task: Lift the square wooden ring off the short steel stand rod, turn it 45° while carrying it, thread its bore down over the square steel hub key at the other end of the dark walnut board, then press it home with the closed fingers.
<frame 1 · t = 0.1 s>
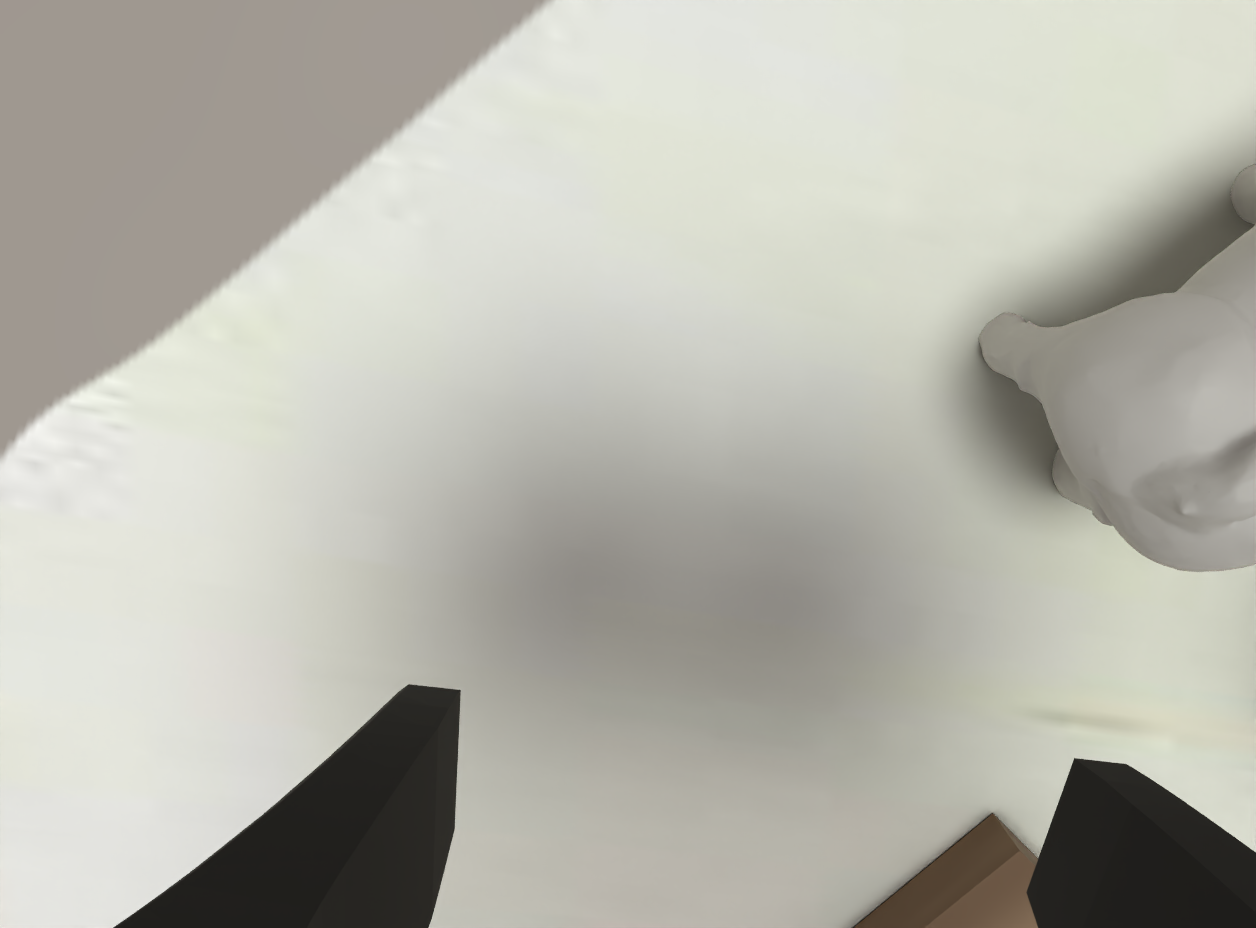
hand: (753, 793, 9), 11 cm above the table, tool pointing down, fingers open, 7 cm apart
dog figurine: (1200, 305, 19), on the table
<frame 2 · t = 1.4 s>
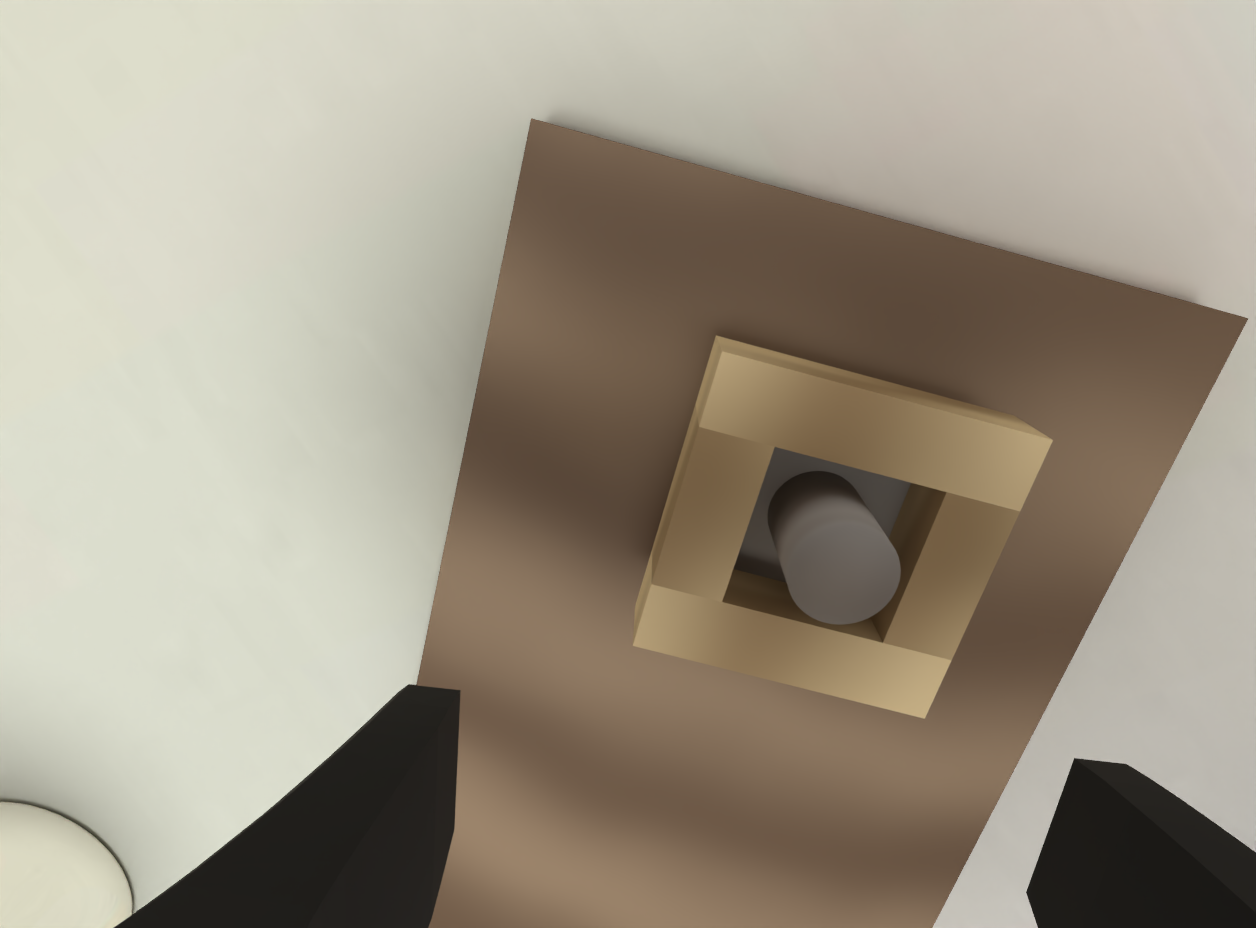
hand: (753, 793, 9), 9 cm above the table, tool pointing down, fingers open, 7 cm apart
beer glass: (35, 878, 23), on the table
square wooden ring: (815, 515, 15), point 3 cm above the table, touching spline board
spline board: (692, 746, 20), on the table
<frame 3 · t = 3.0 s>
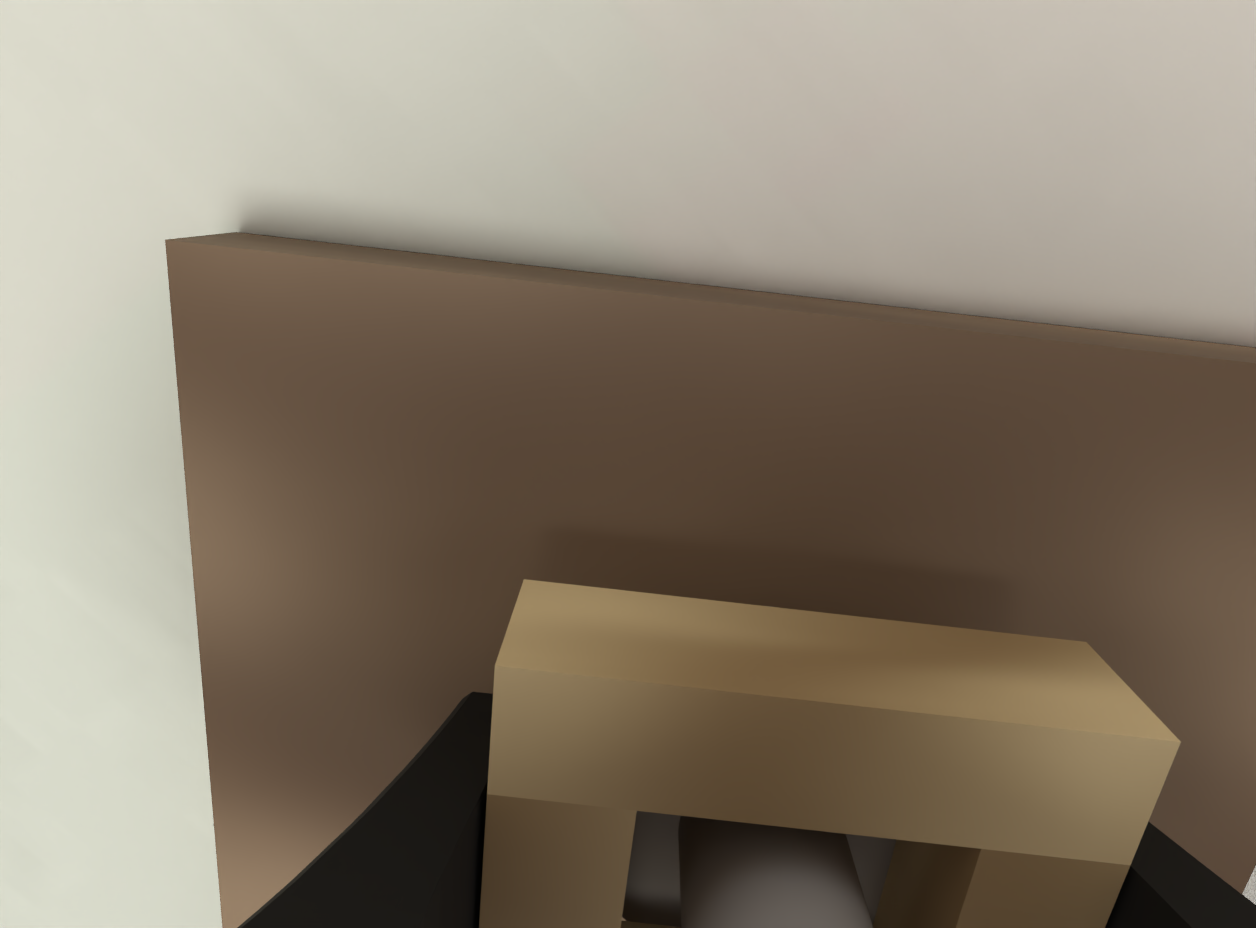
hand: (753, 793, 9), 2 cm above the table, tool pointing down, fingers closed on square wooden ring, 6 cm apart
square wooden ring: (759, 832, 9), point 3 cm above the table, touching gripper, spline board
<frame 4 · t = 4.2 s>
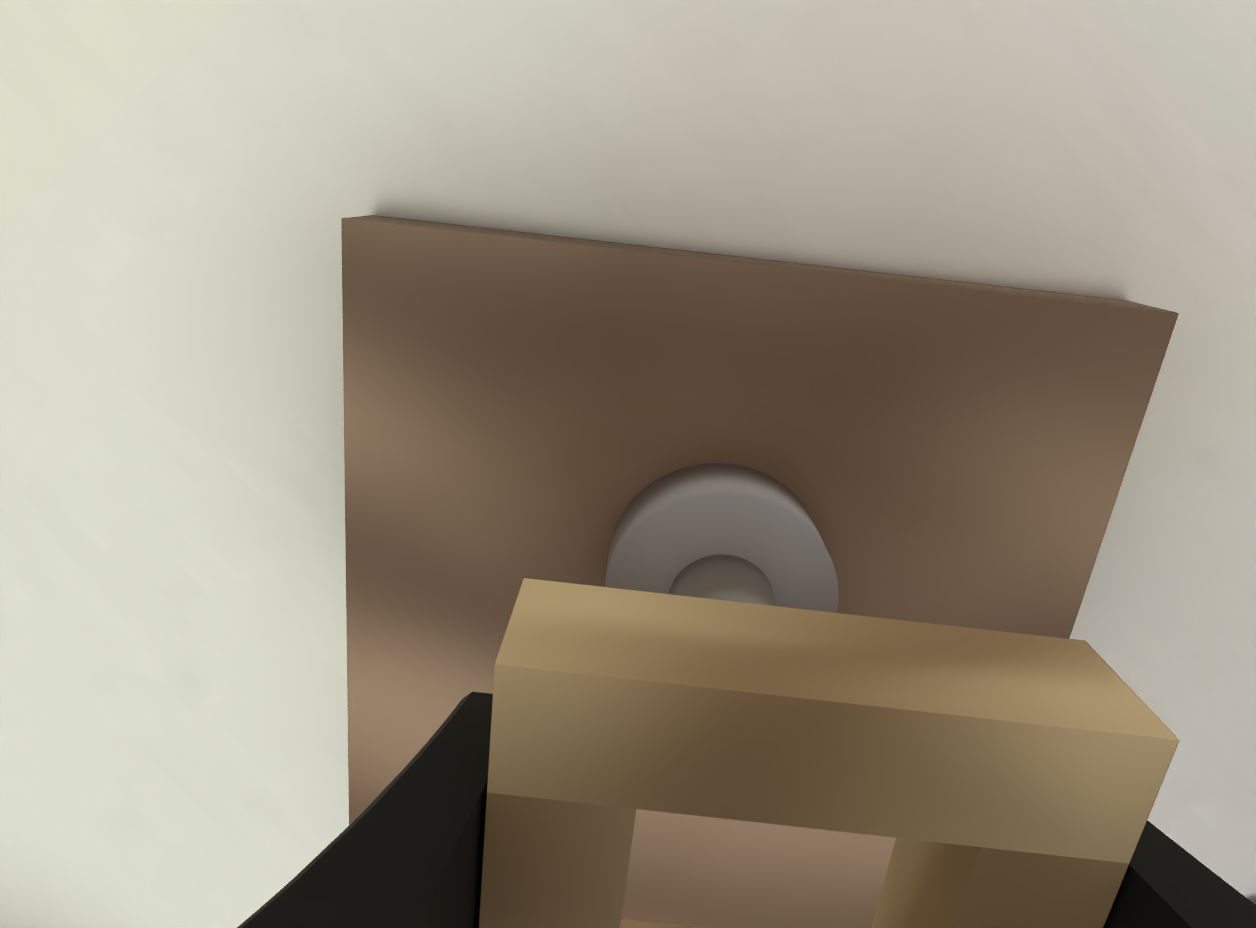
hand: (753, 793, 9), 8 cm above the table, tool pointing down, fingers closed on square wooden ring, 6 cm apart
square wooden ring: (759, 831, 9), point 8 cm above the table, touching gripper
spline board: (662, 833, 19), on the table
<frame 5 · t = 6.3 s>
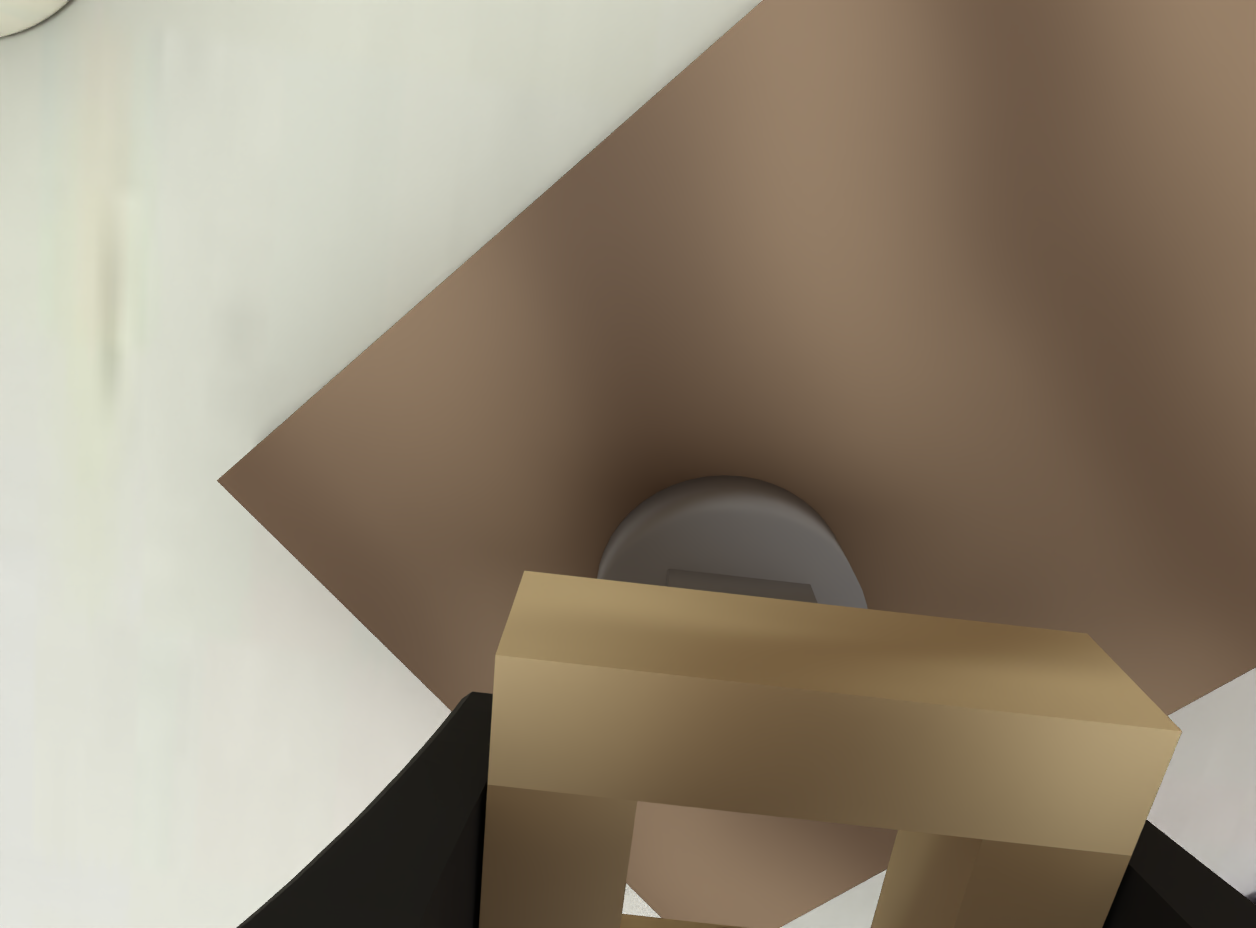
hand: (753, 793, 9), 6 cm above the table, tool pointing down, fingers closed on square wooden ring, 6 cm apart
square wooden ring: (760, 825, 9), point 7 cm above the table, touching gripper
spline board: (1092, 293, 14), on the table
when the fingers open (4 cm above the table, at t = 7.7 s): square wooden ring drops 1 cm, resting on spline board.
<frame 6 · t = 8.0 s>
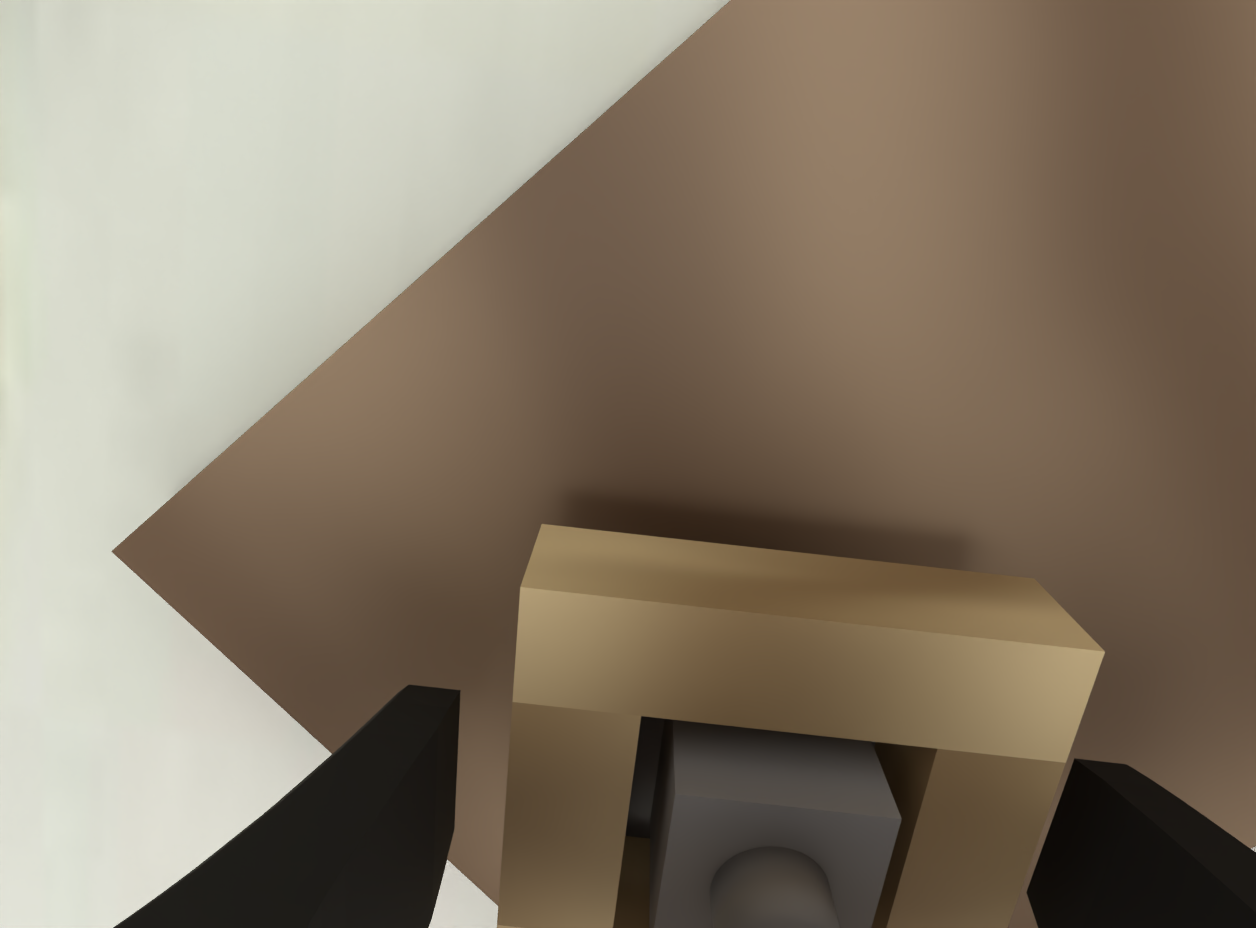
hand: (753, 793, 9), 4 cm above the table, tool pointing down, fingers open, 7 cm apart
square wooden ring: (749, 753, 10), point 3 cm above the table, touching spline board
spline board: (1197, 319, 11), on the table
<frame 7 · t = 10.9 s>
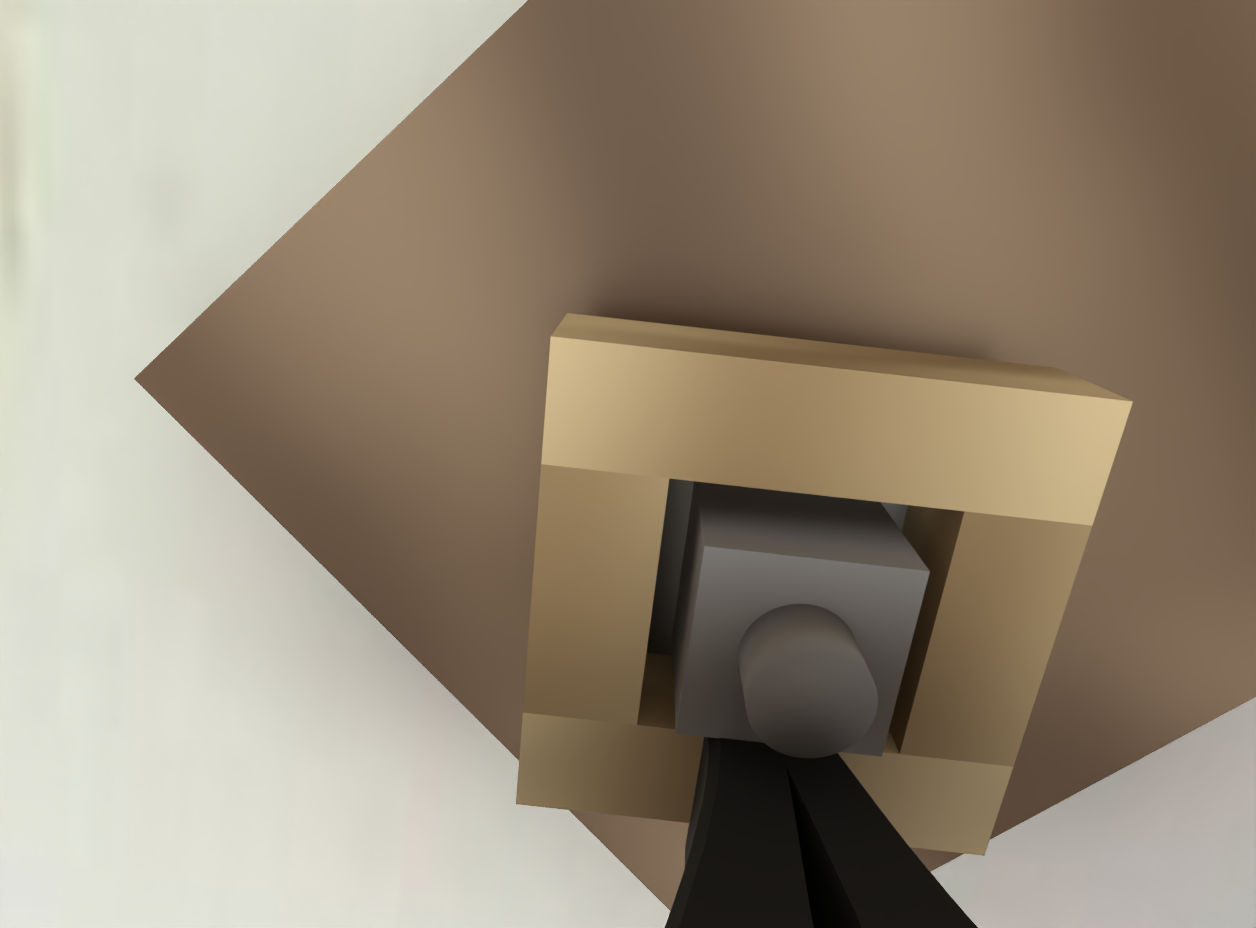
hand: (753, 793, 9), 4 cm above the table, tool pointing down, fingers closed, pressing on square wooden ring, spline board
square wooden ring: (772, 562, 10), point 3 cm above the table, touching gripper, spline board
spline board: (1216, 147, 11), on the table
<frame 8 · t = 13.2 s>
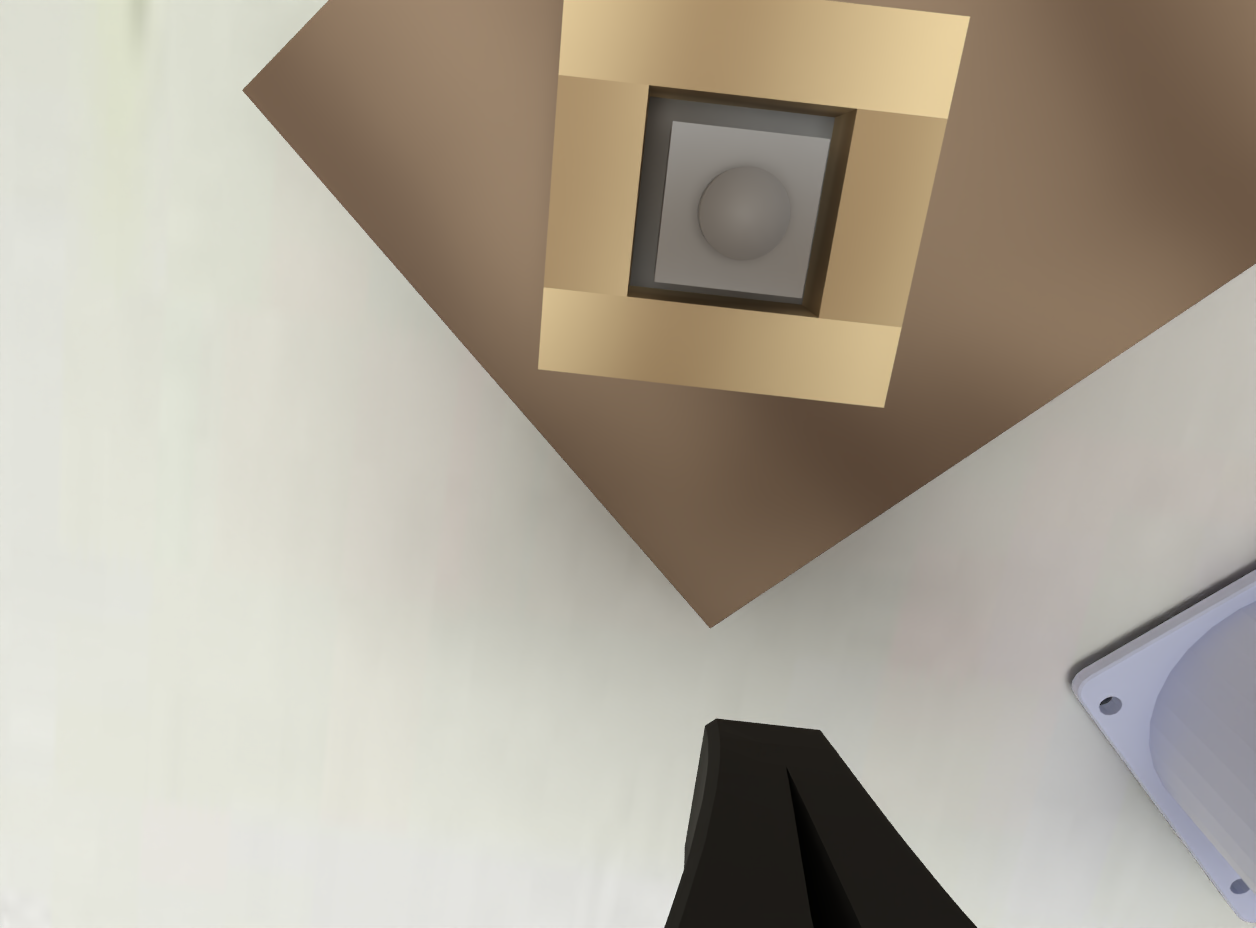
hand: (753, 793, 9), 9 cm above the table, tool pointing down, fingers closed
square wooden ring: (728, 204, 13), point 3 cm above the table, touching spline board
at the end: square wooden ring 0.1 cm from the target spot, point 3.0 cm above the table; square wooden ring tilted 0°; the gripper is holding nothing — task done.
